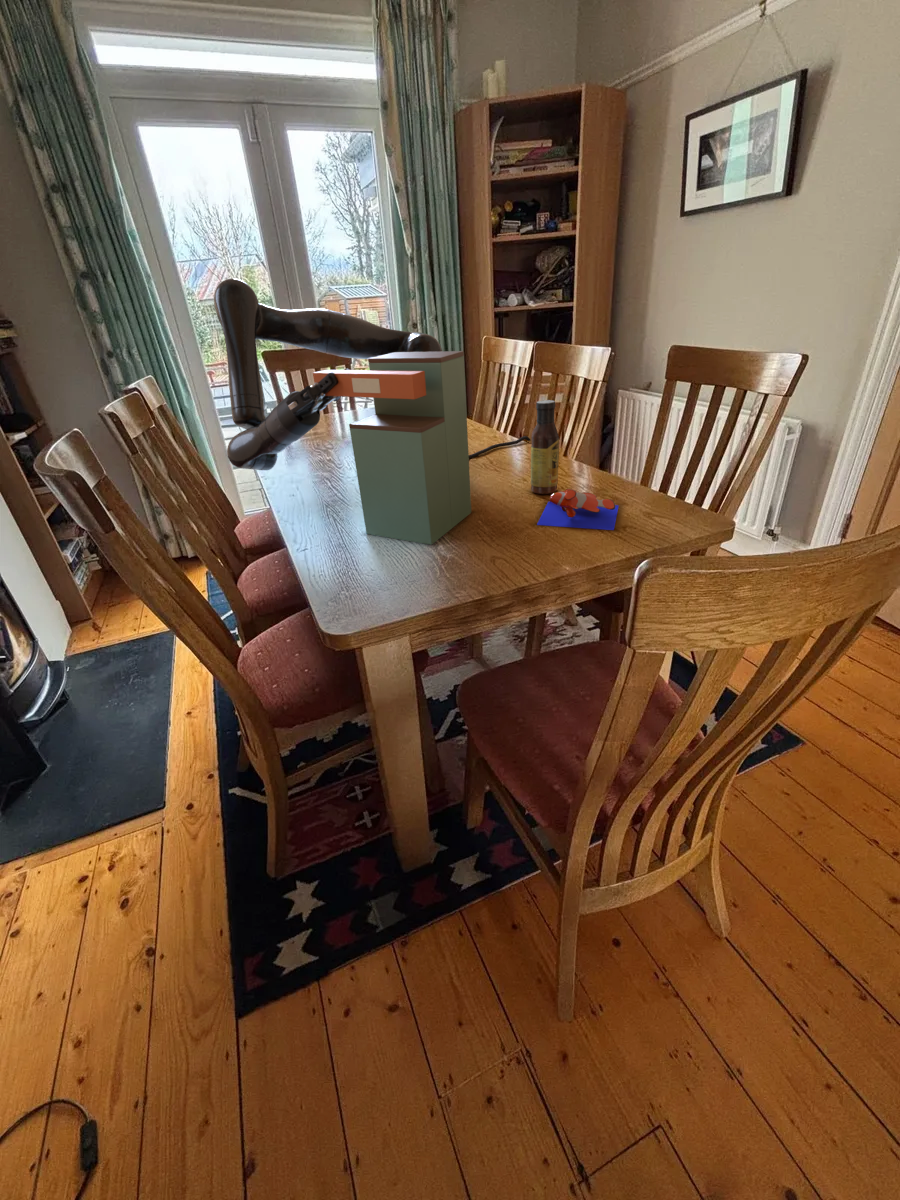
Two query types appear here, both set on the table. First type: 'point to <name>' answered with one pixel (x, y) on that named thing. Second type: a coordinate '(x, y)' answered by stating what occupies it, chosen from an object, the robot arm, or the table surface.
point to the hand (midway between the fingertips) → (342, 375)
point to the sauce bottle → (544, 450)
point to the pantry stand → (415, 452)
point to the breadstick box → (376, 383)
